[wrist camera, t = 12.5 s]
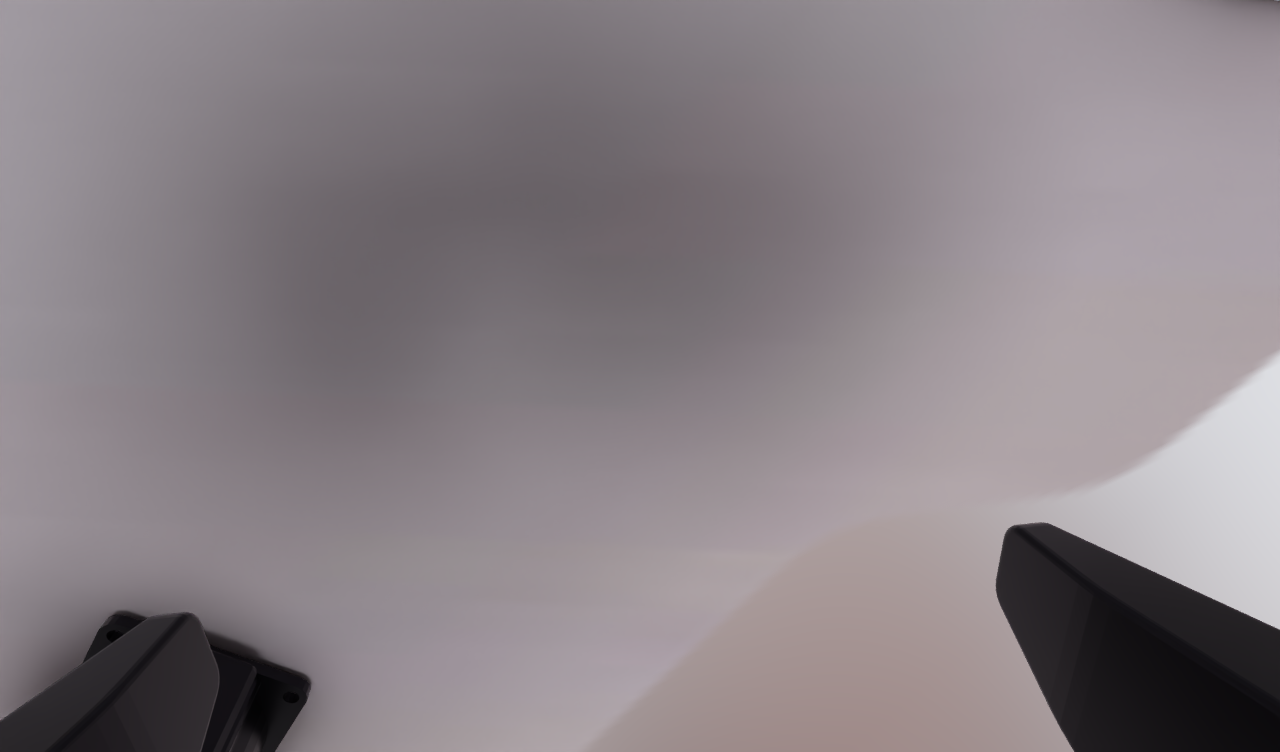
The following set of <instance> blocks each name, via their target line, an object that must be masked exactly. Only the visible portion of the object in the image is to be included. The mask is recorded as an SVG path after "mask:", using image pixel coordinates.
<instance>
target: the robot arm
mask: <svg viewBox="0 0 1280 752" xmlns="http://www.w3.org/2000/svg"><path fill="white" fill-rule="evenodd" d="M996 592H997V597H998V600H999V603H1000V606H1001V608H1002V610H1003V612H1004V614H1005V616H1006V618H1007V620H1008V622H1009V624H1010V626H1011V629H1012V630H1013V633H1014V635H1015V637H1016V639H1017V641H1018V643H1019V645H1020V647H1021V649H1022V651H1023V653H1024V655H1025V658H1026V659H1027V662H1028V664H1029V666H1030V668H1031V670H1032V672H1033V674H1034V676H1035V678H1036V680H1037V682H1038V685H1039V687H1040V689H1041V691H1042V693H1043V695H1044V697H1045V699H1046V701H1047V703H1048V705H1049V707H1050V709H1051V711H1052V713H1053V715H1054V717H1055V719H1056V720H1057V723H1058V724H1059V726H1060V728H1061V730H1062V732H1063V733H1064V735H1065V736H1066V738H1067V740H1068V742H1069V744H1070V745H1071V747H1072V749H1073V750H1074V752H1280V630H1279V629H1277V628H1275V627H1273V626H1270V625H1268V624H1266V623H1264V622H1262V621H1260V620H1257V619H1255V618H1253V617H1251V616H1249V615H1247V614H1244V613H1242V612H1240V611H1238V610H1235V609H1234V608H1231V607H1229V606H1227V605H1225V604H1223V603H1220V602H1218V601H1216V600H1213V599H1212V598H1210V597H1207V596H1205V595H1203V594H1201V593H1199V592H1197V591H1194V590H1192V589H1190V588H1188V587H1186V586H1183V585H1181V584H1179V583H1177V582H1175V581H1172V580H1170V579H1168V578H1166V577H1164V576H1162V575H1159V574H1157V573H1155V572H1153V571H1151V570H1149V569H1147V568H1144V567H1142V566H1140V565H1138V564H1136V563H1133V562H1131V561H1129V560H1127V559H1125V558H1123V557H1120V556H1118V555H1116V554H1114V553H1112V552H1110V551H1107V550H1105V549H1103V548H1101V547H1098V546H1097V545H1094V544H1092V543H1090V542H1088V541H1085V540H1084V539H1081V538H1079V537H1077V536H1075V535H1073V534H1070V533H1068V532H1066V531H1064V530H1062V529H1060V528H1058V527H1055V526H1053V525H1051V524H1048V523H1030V524H1021V525H1014V526H1012V527H1010V528H1009V529H1008V530H1007V532H1006V533H1005V536H1004V540H1003V545H1002V551H1001V556H1000V562H999V567H998V572H997V578H996ZM115 630H116V631H115ZM117 631H119V632H121V633H119V632H117ZM122 633H123V634H122ZM310 690H311V687H310V684H309V683H308V682H307V681H306V680H304V679H303V678H300V677H298V676H295V675H292V674H289V673H286V672H284V671H281V670H278V669H275V668H272V667H270V666H267V665H264V664H261V663H258V662H255V661H253V660H250V659H247V658H244V657H241V656H239V655H236V654H233V653H230V652H227V651H224V650H222V649H219V648H216V647H213V646H210V645H209V642H208V640H207V637H206V635H205V632H204V630H203V627H202V625H201V622H200V621H199V619H198V618H197V617H196V616H195V615H194V614H192V613H189V612H182V613H173V614H163V615H156V616H152V617H150V618H148V619H146V620H144V621H140V620H137V619H134V618H131V617H129V616H124V615H114V616H111V617H109V618H108V619H107V620H106V621H105V623H104V624H103V625H102V627H101V628H100V629H99V631H98V633H97V635H96V637H95V639H94V641H93V643H92V645H91V647H90V649H89V651H88V653H87V655H86V657H85V659H84V661H83V663H82V664H81V665H80V666H78V667H77V668H76V669H74V670H73V671H71V672H70V673H68V674H67V675H65V676H64V677H63V678H61V679H60V680H58V681H57V682H55V683H54V684H53V685H51V686H50V687H48V688H47V689H45V690H44V691H43V692H41V693H40V694H38V695H37V696H35V697H34V698H32V699H31V700H30V701H28V702H27V703H25V704H24V705H22V706H21V707H20V708H18V709H17V710H15V711H14V712H12V713H11V714H10V715H8V716H7V717H5V718H4V719H2V720H1V721H0V752H275V750H276V749H277V747H278V746H279V744H280V742H281V741H282V739H283V738H284V736H285V735H286V733H287V731H288V730H289V728H290V727H291V725H292V724H293V722H294V720H295V719H296V717H297V716H298V714H299V713H300V711H301V709H302V708H303V706H304V705H305V703H306V701H307V698H308V696H309V693H310ZM291 692H295V693H291Z"/></svg>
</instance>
